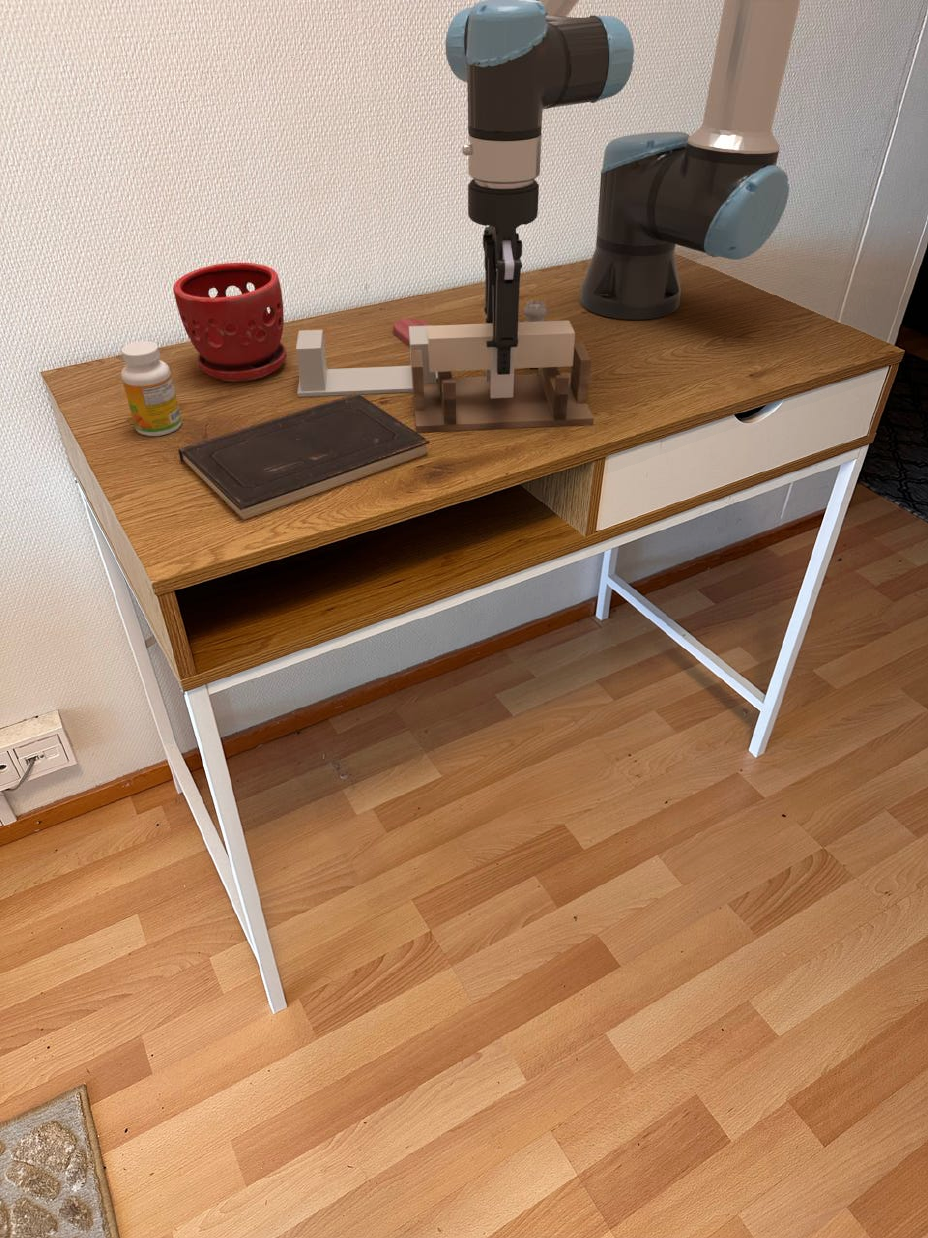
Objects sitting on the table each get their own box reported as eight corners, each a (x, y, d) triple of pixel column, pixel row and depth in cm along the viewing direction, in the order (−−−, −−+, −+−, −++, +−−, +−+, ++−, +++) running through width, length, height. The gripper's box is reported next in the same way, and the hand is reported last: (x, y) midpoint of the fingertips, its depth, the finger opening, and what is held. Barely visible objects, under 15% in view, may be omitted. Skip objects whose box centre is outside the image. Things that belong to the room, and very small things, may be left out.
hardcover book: (430, 458, 99) (429, 440, 98) (243, 527, 89) (239, 507, 87) (356, 408, 109) (355, 391, 108) (181, 464, 99) (176, 446, 97)
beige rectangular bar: (566, 352, 107) (569, 320, 105) (572, 366, 104) (575, 333, 102) (427, 358, 106) (426, 325, 104) (429, 371, 103) (428, 338, 101)
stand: (436, 368, 117) (435, 323, 113) (440, 390, 112) (439, 344, 108) (301, 373, 116) (295, 329, 112) (297, 396, 110) (291, 350, 107)
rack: (573, 378, 114) (577, 330, 110) (593, 424, 104) (597, 373, 100) (412, 385, 113) (409, 337, 109) (416, 432, 103) (414, 381, 99)
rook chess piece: (524, 353, 120) (527, 295, 115) (554, 359, 119) (558, 300, 114) (510, 365, 117) (512, 306, 112) (541, 372, 116) (544, 311, 111)
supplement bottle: (130, 422, 105) (109, 344, 99) (175, 412, 107) (157, 335, 101) (141, 441, 102) (120, 361, 96) (187, 430, 104) (169, 351, 98)
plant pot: (215, 346, 123) (198, 258, 116) (304, 352, 121) (293, 263, 114) (174, 385, 113) (153, 292, 106) (271, 393, 111) (256, 298, 104)
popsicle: (432, 358, 117) (385, 321, 127) (432, 369, 118) (386, 332, 128) (467, 350, 119) (419, 314, 129) (467, 361, 120) (419, 325, 130)
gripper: (461, 161, 99) (463, 361, 114) (475, 201, 86) (475, 421, 100) (527, 159, 99) (520, 358, 114) (551, 199, 86) (540, 418, 101)
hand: (499, 387), depth 107 cm, fingers closed on beige rectangular bar, 4 cm apart
